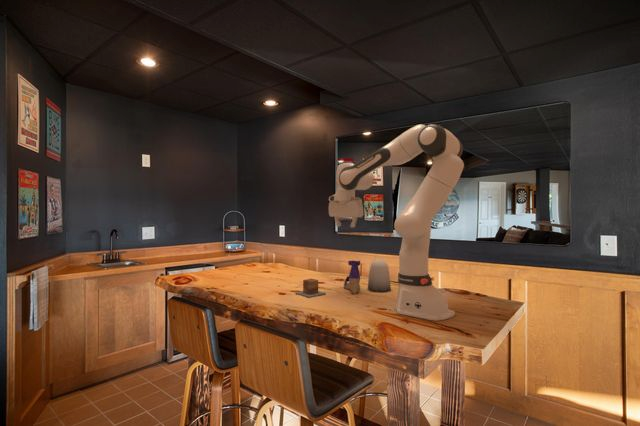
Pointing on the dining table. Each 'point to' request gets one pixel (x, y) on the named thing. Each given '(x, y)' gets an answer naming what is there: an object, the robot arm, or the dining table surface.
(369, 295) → the dining table surface
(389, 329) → the dining table surface
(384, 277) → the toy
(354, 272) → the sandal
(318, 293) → the pad
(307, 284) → the walnut block
